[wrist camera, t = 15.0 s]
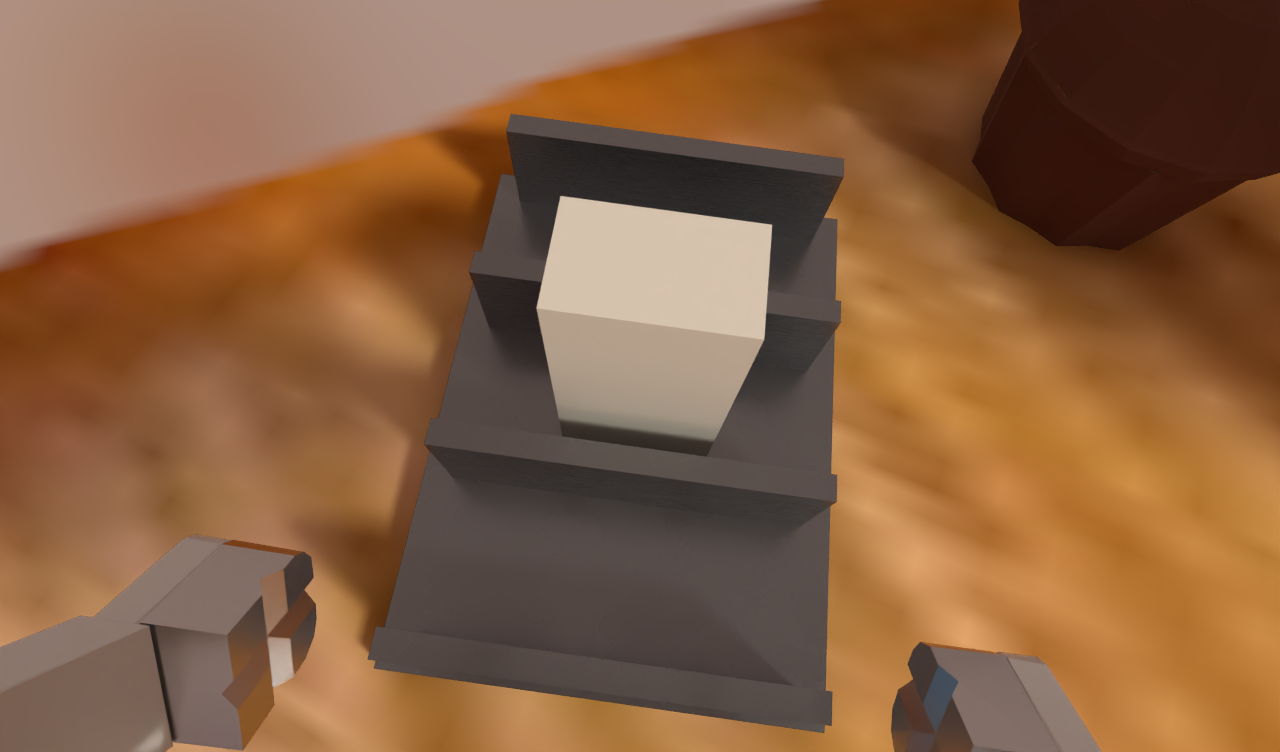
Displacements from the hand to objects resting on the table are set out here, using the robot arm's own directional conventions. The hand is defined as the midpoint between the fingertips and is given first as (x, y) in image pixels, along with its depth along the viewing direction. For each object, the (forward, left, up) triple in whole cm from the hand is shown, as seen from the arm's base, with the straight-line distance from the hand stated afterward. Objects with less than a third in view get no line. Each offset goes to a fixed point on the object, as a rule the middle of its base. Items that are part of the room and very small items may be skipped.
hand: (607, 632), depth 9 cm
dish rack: (-7, -4, -14) cm, 16 cm away
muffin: (-29, +2, -15) cm, 32 cm away
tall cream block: (-7, -4, -13) cm, 16 cm away
